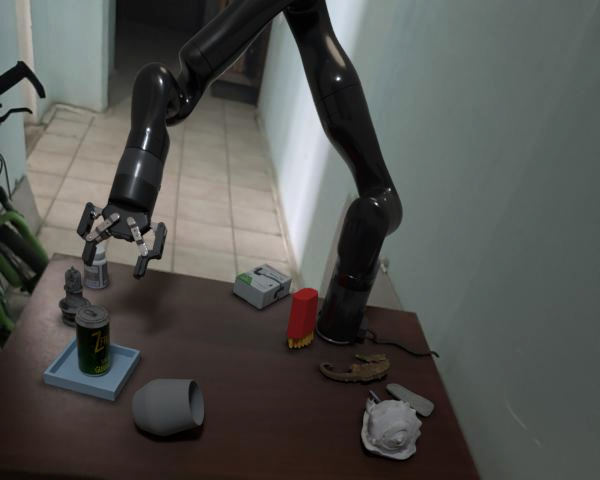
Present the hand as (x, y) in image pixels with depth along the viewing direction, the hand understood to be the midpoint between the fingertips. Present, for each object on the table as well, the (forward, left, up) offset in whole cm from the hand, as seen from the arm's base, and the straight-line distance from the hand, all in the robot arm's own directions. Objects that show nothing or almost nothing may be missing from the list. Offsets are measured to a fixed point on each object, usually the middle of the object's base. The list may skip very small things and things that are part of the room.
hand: (111, 272), depth 89 cm
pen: (-61, +3, -16) cm, 63 cm away
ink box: (-20, -28, -14) cm, 37 cm away
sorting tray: (0, +8, -17) cm, 18 cm away
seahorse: (-42, -9, -12) cm, 44 cm away
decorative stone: (-61, -10, -16) cm, 64 cm away
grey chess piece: (+10, -5, -17) cm, 20 cm away
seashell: (-53, +5, -17) cm, 56 cm away
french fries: (-33, -19, -4) cm, 39 cm away
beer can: (0, +7, -16) cm, 18 cm away
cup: (-11, +17, -14) cm, 25 cm away
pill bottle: (+12, -19, -17) cm, 28 cm away
